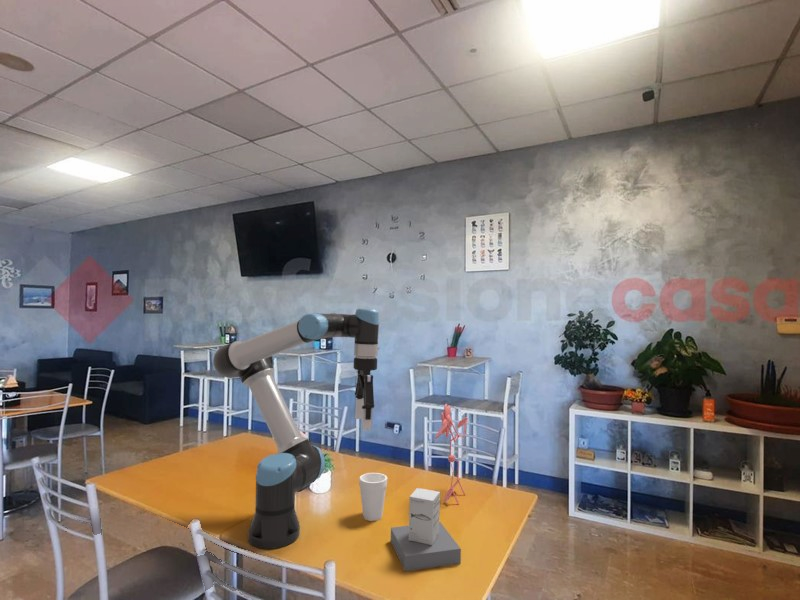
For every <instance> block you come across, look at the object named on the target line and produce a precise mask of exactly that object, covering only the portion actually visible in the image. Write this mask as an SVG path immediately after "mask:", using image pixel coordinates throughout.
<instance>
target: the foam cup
mask: <svg viewBox="0 0 800 600" xmlns="http://www.w3.org/2000/svg"><path fill="white" fill-rule="evenodd" d="M358 480H359V481H358V482H359V487H360V489H359V490H360V499H361V506H362V516H363V519H364V520H366V521H369V522H375V521H379V520H381V519H382V517H383V512H384V505H385V500H386V499H385V498H386V491H387V486H388V476H387V475H386V474H383V473H380V472H366V473H364V474H361V475H360V476H359V479H358Z"/></svg>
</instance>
